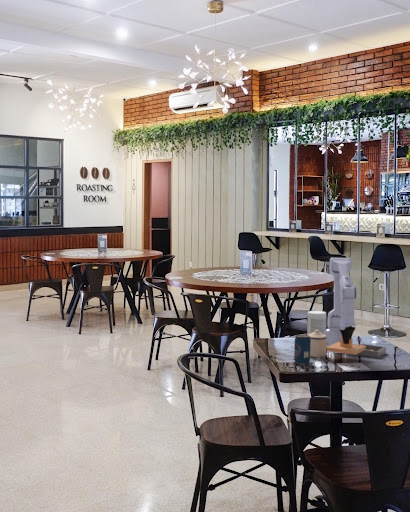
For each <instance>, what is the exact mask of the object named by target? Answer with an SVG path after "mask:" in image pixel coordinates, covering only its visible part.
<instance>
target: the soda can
mask: <svg viewBox="0 0 410 512" xmlns="http://www.w3.org/2000/svg"><path fill="white" fill-rule="evenodd" d="M310 349H311V339H310V337H309V335H307V334H296V336H295V338H294V350H293V351H294V352H293V354H294V355H293V356H294V357H293V360H294V363H295V364H298V365H309V363H310V362H311V356H310Z"/></svg>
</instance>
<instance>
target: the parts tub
mask: <svg viewBox="0 0 410 512" xmlns="http://www.w3.org/2000/svg"><path fill="white" fill-rule="evenodd" d="M359 345H364V346H366V349H365V350H363V351H362V352H360V353H358V354H356V355H354V354H351V355H353V356H359V357H367V358H372V359H373V358H374V359H379V358H381V357H382V356H384V355H385V354H387V346H381V345H372V344H365V343H360V344H359Z"/></svg>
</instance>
